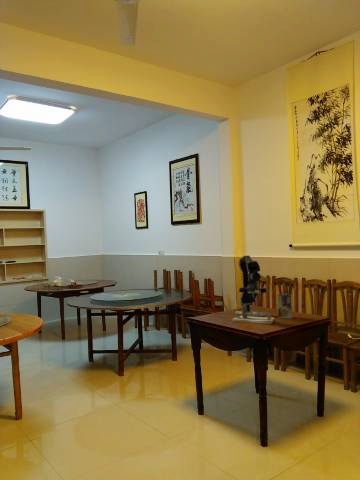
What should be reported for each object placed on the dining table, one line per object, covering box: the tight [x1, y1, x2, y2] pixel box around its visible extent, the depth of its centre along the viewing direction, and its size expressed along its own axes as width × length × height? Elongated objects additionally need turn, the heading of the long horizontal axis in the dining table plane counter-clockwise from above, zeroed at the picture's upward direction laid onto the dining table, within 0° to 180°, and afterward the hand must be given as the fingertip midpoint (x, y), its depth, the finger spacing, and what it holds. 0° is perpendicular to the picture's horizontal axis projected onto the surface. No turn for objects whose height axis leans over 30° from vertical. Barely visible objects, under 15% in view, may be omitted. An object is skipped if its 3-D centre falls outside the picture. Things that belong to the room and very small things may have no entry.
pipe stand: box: [232, 310, 275, 325], centre depth 266 cm, size 12×26×6 cm, turn 65°
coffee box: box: [277, 293, 294, 319], centre depth 271 cm, size 9×6×16 cm
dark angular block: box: [241, 305, 248, 318], centre depth 268 cm, size 5×2×8 cm, turn 155°
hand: (254, 302), depth 265 cm, fingers closed
